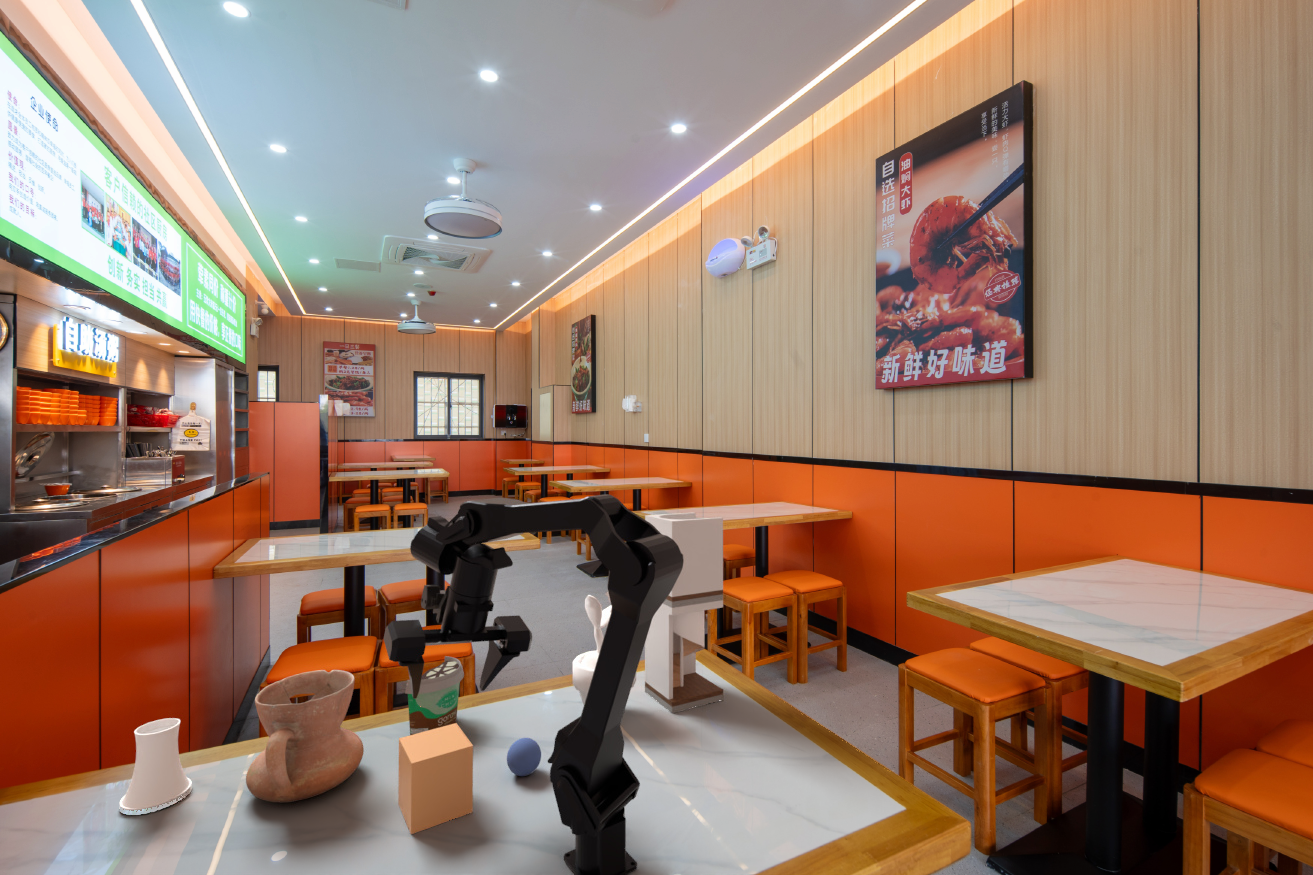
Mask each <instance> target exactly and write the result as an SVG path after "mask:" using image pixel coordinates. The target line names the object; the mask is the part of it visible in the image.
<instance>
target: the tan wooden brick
mask: <svg viewBox="0 0 1313 875" xmlns="http://www.w3.org/2000/svg"><path fill="white" fill-rule="evenodd" d="M473 769H474V745H473V744H472V742H471V741H470V739H469V738H468V736H467V735H466V734H465V732H464V731H463V730H462V729H461V727H460V726H459V725H458V723H457V722H456V723H455V724H451V725H447V726H443V727H440V728H436V729H432V730H428V731H424V732H421V733H417V734H413V735H410V734H409V735H407V736H402V737H399V738H398V783H397V784H398V787H397V788H398V790H397V792H398V797H397V798H398V802H397V803H398V806H399V808H400V812H401V813H402V816H403V818H404V820H405V821H404V822H405V823H406V826H407V828H408V830H409V831H408V832H409V833H410V835H413V834H416V833H420V832H422V831H424V830H427V829H430V828H432V827H435V826H438V825H442V824H445V823H447V822H450V821H452V819H453V820H455V818H456V819H459V818H461V817H463V816H467V815H468V814H469V813H470V814H472V813H473V806H474V805H473V804H474V801H473V799H474V796H473V792H474V791H473V789H474V787H473V786H474V785H473V783H474V779H473V778H474V770H473ZM466 814H467V815H466ZM470 814H469V815H470ZM449 820H450V821H449Z"/></svg>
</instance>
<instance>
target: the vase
mask: <svg viewBox="0 0 1313 875" xmlns="http://www.w3.org/2000/svg"><path fill="white" fill-rule="evenodd" d="M180 724H181V719H180V718H175V717H172V718H171V717H169V718H167V717H166V718H162V719H157V720H154V721H149V722H146V723H144V724H143V725H142V724H141V725H140V726H138V727H137V728H136V729H134V731H133V733H134V738H135V750H136V752H135V762H134V763H135V764H134V768H133V772H132V776H131V780H130V782H129V785H128V788H127V791H126V792H125V795H123V796H122V798H121V799H120V801H119V808H120V807H121V808H123V810H124V809H125V810H129V811H130V810H131V811H134V810H137V811H138V810H140V811H142V809H146V808H147V810H148V808H151V809H152V807H156V806H157V808H158V807H159V805H162V804H165V803H167V804H169V802H171V801H172V802H173V800H175V799H176V801H178V798H179V797H180V798H182V799H183V798H184V799H185V798H186V796H187V795H188V794H189V795H190V794H191V792H192V789H193V788H192V780H191V779H190V778H189V777H187V775H186V773H185V771H184V768H183V766H182V763H181V759H180V753H179V732H180V731H179V730H180V726H181V725H180ZM181 795H182V796H183V797H182V796H181ZM189 795H188V796H189ZM184 796H185V797H184ZM188 796H187V797H188ZM180 798H179V799H180ZM184 799H183V800H184ZM162 806H163V805H162ZM147 810H146V811H147ZM137 811H136V812H137Z"/></svg>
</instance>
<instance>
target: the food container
mask: <svg viewBox="0 0 1313 875" xmlns="http://www.w3.org/2000/svg"><path fill="white" fill-rule="evenodd" d="M463 667H464V666H463V665H462V663H461V660H459V659H458V658H456V657H453V656H446V655H444V662H441V663H440V664H439V665H437V666H435V667H432V668H430V669H428V670H426V671H425V672H424V673H422V679H421V684H420V690H419V693H418V696H417V698H416V699H413V696H412V691H411V684H410V679H407V680H406V685H405V692H404V694H407V702H408V704H407V705H408V722H409V735H413V734H417V733H421V732H424V731H428V730H432V729H436V728H440V727H443V726H447V725H451V724H455V723H457V720H458V719H457V717H458V706H459V697H460V696H459V694H460V684H461V683H460V682H461V681H462V680H463V678H464V676H465V673H464V672H465V671H464V669H463ZM420 706H421V707H420Z"/></svg>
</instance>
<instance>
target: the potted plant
mask: <svg viewBox="0 0 1313 875" xmlns="http://www.w3.org/2000/svg"><path fill="white" fill-rule="evenodd" d="M604 596H606V597H607V598H608V602H609V603H608V604H609V606H608V607H606V608H604V609H602V605H603V604H601V602H600V601H599V599H598V598H597V597H595V596H593V595H591V594H588V595H586V597H585V599H584V609H585V612H586V614H587V617H588V619H589V622H591V625H592V626H593V635H594V636H593V637H594V640H595V645H596V649H595V650H591V651H590V650H589V651H586V652H583V653H581V654H579V655H577V656H576V657H575V658H574V659H573V660H572V685H573V687H574V688H575V690H577V691H578V692H579V695H580V698H581V702H582V704H583V706H584V704H585V700H586V697H587V693H588V690H589V687H590V683H591V680H592V676H593V673H594V670H595V666H596V663H597V659H598V656H599V652H600V649H601V646H602V642H603V639H604V633H603V631H602V629H603V628H607V625H608V622H609V618H610V615H611V610H612V605H610V604H611V601H610V597H609V592H608V590H607V592H606V593H604ZM636 682H637V673H636V674H635V677H634V681H633V684H632V687H631V689H633V688H634V686H635V684H636Z"/></svg>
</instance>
